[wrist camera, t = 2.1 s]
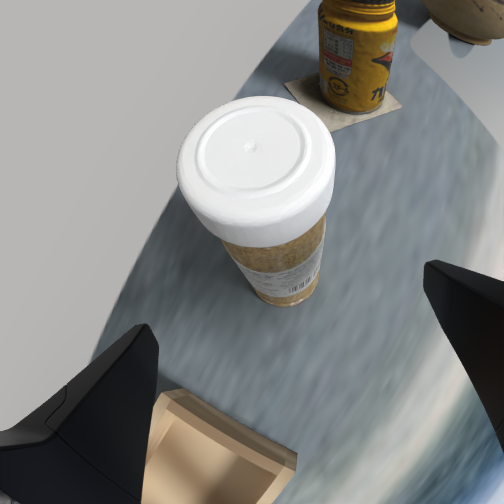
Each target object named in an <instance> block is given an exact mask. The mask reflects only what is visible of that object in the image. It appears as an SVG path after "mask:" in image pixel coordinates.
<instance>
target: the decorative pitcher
mask: <svg viewBox="0 0 504 504" xmlns="http://www.w3.org/2000/svg"><path fill="white" fill-rule="evenodd" d="M421 1H422V3H423V4H424V5H425V7H426V8H427V9H428V10H429V11H430V17H431V19H432V20H433V22H434V23H435V24H437V25H438V26H439V27H440V28H442V29H443V30H444V31H446V32H448V33H449V34H451V35H453V36H455V37H457V38H459V39H461V40H463V41H466V42H469V43H472V44H476V45H483V46H485V45H489V44H490V43H491V41H492V39H501V38H504V0H421Z"/></svg>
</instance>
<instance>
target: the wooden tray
mask: <svg viewBox="0 0 504 504" xmlns="http://www.w3.org/2000/svg"><path fill="white" fill-rule="evenodd" d="M296 464H297V453H295V452H293V451H291V450H289V449H287V448H285V447H283V446H281V445H279V444H277V443H275V442H273V441H272V440H270V439H268V438H266V437H264V436H262V435H260V434H258V433H257V432H255V431H253V430H251V429H249V428H248V427H246V426H244V425H242V424H241V423H239V422H237V421H235V420H234V419H232V418H230V417H229V416H227V415H225V414H224V413H222V412H220V411H219V410H217V409H216V408H214V407H212V406H211V405H209V404H208V403H206V402H204V401H203V400H201V399H200V398H198V397H197V396H195V395H194V394H192V393H191V392H189V391H188V390H186V389H185V388H181V389H176V390H171V391H166V392H161V394H160V396H159V398H158V399H157V401H156V403H155V405H154V407H153V413H152V420H151V426H150V433H149V440H148V448H147V455H146V463H145V472H144V481H143V490H142V500H141V504H272V502H273V501H274V500H275V499H276V497H277V496H278V495H279V493H280V492H281V491H282V490H283V488H284V487H285V486H286V484H287V483H288V482H289V480H290V479H291V478H292V476H293V475H294V473H295V472H296Z"/></svg>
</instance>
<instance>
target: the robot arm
mask: <svg viewBox="0 0 504 504" xmlns="http://www.w3.org/2000/svg"><path fill="white" fill-rule="evenodd" d="M423 288H424V291H425V294H426V296H427V298H428V300H429V302H430V304H431V306H432V308H433V310H434V312H435V315H436V317H437V319H438V321H439V323H440V325H441V327H442V329H443V331H444V333H445V334H446V336H447V338H448V340H449V341H450V343H451V345H452V347H453V348H454V350H455V352H456V354H457V356H458V357H459V359H460V361H461V363H462V365H463V367H464V368H465V370H466V372H467V374H468V376H469V378H470V380H471V382H472V384H473V386H474V388H475V390H476V392H477V394H478V396H479V398H480V400H481V402H482V404H483V406H484V408H485V410H486V413H487V415H488V417H489V419H490V421H491V424H492V426H493V428H494V430H495V432H496V436H497V438H498V440H499V443H500V445H501V448H502V450H503V453H504V281H501V280H498V279H495V278H492V277H489V276H486V275H483V274H480V273H477V272H474V271H471V270H468V269H465V268H462V267H458V266H455V265H452V264H449V263H446V262H443V261H440V260H432V261H429V262H426V263H425V265H424V278H423ZM158 356H159V345H158V342H157V340H156V338H155V336H154V334H153V332H152V330H151V329H150V327H149V325H148V324H139V325H135V326H134V327H132V328H131V329H130V330H129V331H128V332H127V333H125V334H124V335H123V336H122V337H121V338H120V339H118V340H117V341H116V342H115V343H114V344H112V345H111V346H110V347H109V348H108V349H107V350H105V351H104V352H103V353H102V354H101V355H100V356H98V357H97V358H96V359H95V360H94V361H93V362H91V363H90V364H89V365H88V366H87V367H86V368H85V369H83V370H82V371H81V372H80V373H79V374H78V375H76V376H75V377H74V378H73V379H72V380H71V381H69V382H68V383H67V385H65V386H64V387H63V388H61V389H60V390H59V391H58V392H57V393H56V394H54V395H53V396H52V397H51V398H50V399H48V400H47V401H46V402H45V403H43V404H42V405H41V406H40V407H38V408H37V409H36V410H34V411H33V412H32V413H30V414H29V415H28V416H27V417H25V418H24V419H23V420H21V421H20V422H19V423H17V424H16V425H15V426H13V427H12V428H10V429H8V430H4V431H0V504H141V500H142V490H143V481H144V472H145V463H146V455H147V448H148V440H149V433H150V426H151V420H152V413H153V407H154V400H155V394H156V387H157V372H158Z"/></svg>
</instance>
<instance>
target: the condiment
mask: <svg viewBox="0 0 504 504" xmlns="http://www.w3.org/2000/svg"><path fill="white" fill-rule="evenodd" d="M394 12H395V0H323V1H322V3H321V4H320V6H319V8H318V26H319V64H320V73H315V74H313V75H310V76H307V77H304V78H301V79H296V80H292V81H290V82H287V83H284V84H285V86H286V87H287V88H288V89H289V91H290V92H291V93H292V95H293V96H294V97H295V98H296V99H297V101H298V102H299V103H300V104H301V105H302V106H304V107H306V108H307V109H309V110H311V111H312V112H313V113H314V114H315V115H316V116H318V117H319V118H320V119H321V121H322V122H323V123H324V124H325V126H326V127H327V129H328V131H329V133H331V132H332V131H335V130H339V129H341V128H343V127H345V126H349V125H352V124H354V123H357V122H360V121H363V120H367V119H370V118H373V117H376V116H378V115H382V114H385V113H388V112H390V111H394V110H397V109H399V108H401V107H403V106H402V105H401V104H400V103H399V102H398V101H397V100H396V99H395V98H393V96H392V95H391V94H389V93H388V92H387V91H386V87H387V82H388V78H389V74H390V67H391V63H392V56H393V50H394V44H395V38H396V34H397V25H398V19H397V17H396V15H395V13H394ZM319 83H320V84H319ZM330 111H333V112H330ZM335 111H336V112H338V113H335Z"/></svg>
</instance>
